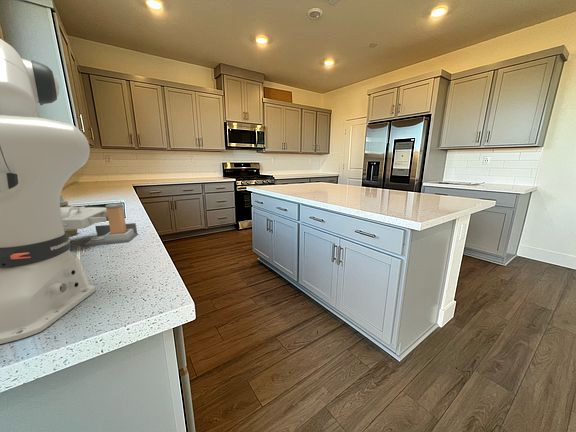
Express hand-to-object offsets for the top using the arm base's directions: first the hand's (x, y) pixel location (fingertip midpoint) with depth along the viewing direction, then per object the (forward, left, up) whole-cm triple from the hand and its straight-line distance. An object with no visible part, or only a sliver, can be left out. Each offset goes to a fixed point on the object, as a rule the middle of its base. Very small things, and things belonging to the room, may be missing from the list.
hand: (112, 216), depth 92 cm
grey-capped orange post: (0, -1, -8) cm, 9 cm away
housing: (0, +1, -9) cm, 10 cm away
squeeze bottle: (+13, +22, -10) cm, 28 cm away
